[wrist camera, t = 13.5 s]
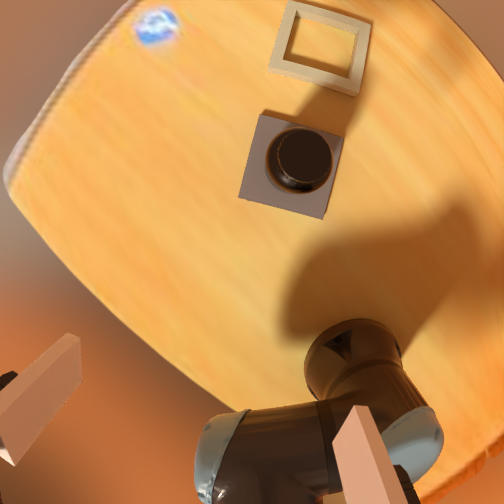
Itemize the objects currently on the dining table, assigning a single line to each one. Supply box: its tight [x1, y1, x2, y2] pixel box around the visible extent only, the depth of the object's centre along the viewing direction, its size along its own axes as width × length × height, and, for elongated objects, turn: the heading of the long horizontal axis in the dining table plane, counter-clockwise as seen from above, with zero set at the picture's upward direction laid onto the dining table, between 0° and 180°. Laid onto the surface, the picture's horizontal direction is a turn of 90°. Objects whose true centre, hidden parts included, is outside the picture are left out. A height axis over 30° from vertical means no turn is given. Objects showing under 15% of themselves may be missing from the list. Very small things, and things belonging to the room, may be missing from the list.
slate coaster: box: [238, 114, 343, 220], centre depth 37 cm, size 11×11×1 cm
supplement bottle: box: [265, 127, 334, 194], centre depth 31 cm, size 7×7×12 cm
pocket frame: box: [268, 0, 371, 97], centre depth 33 cm, size 12×12×2 cm
